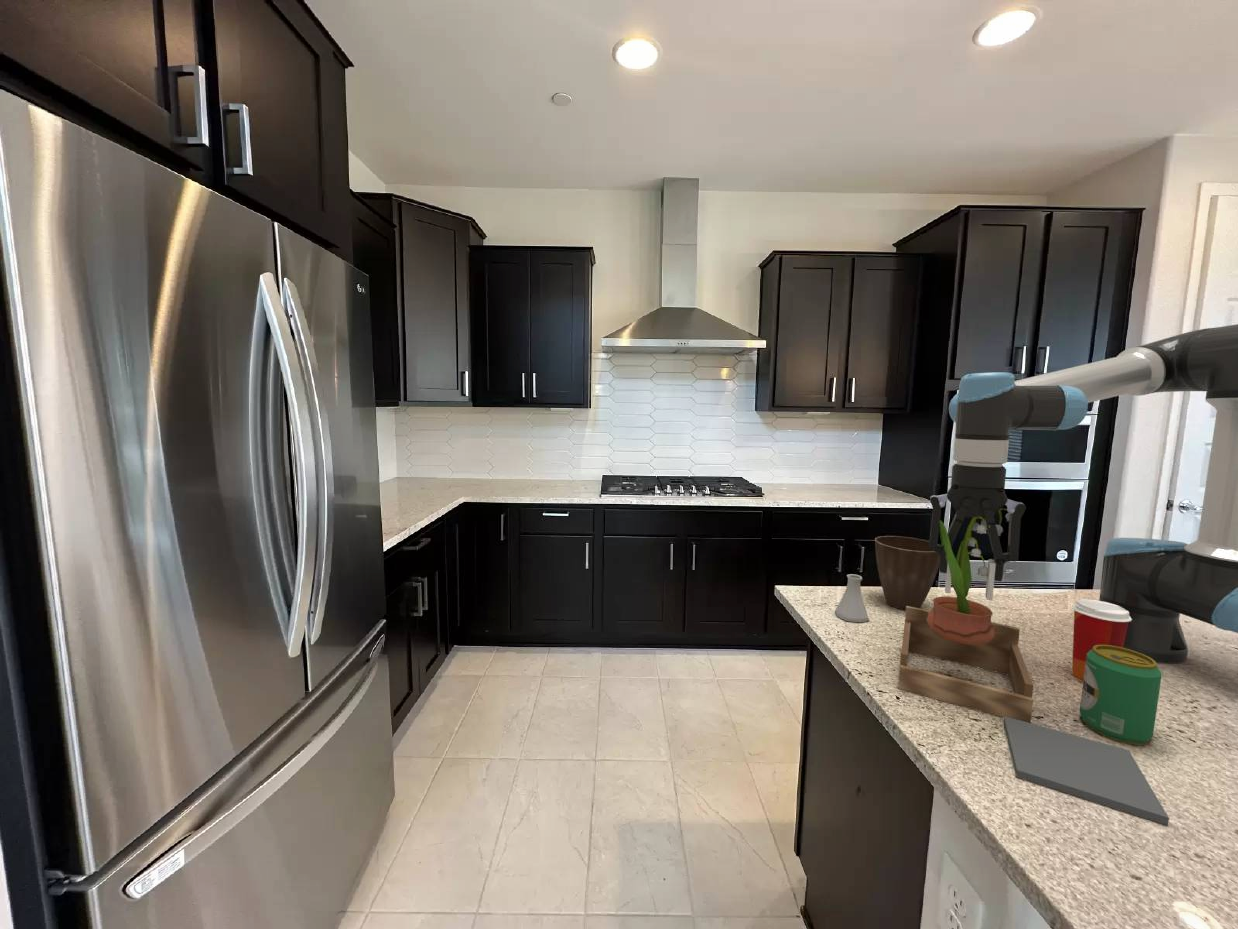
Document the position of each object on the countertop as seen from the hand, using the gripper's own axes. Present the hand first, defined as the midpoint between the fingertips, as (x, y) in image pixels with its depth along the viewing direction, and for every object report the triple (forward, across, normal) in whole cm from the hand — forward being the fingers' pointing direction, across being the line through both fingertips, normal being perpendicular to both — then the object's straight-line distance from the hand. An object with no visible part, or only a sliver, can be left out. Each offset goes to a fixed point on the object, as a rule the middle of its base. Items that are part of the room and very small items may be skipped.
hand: (967, 594), depth 87 cm
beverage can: (+17, -19, +3) cm, 26 cm away
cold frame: (+16, 0, 0) cm, 16 cm away
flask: (+16, +20, -20) cm, 33 cm away
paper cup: (+17, -21, -15) cm, 30 cm away
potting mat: (+16, -12, +18) cm, 27 cm away
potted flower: (+8, 0, 0) cm, 8 cm away
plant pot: (+17, +10, -36) cm, 41 cm away
